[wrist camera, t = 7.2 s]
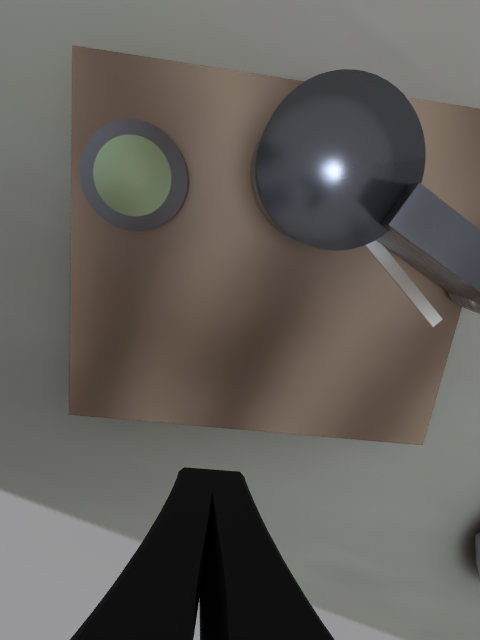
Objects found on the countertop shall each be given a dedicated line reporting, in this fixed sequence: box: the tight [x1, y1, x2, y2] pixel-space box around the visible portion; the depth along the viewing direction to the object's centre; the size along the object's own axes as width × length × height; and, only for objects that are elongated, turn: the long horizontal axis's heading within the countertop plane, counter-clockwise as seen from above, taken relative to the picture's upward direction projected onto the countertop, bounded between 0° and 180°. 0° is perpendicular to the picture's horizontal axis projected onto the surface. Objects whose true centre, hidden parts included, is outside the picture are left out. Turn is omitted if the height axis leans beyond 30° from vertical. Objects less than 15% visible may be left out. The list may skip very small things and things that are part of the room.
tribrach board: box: [69, 46, 480, 445], centre depth 16 cm, size 16×14×2 cm
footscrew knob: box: [251, 70, 480, 314], centre depth 13 cm, size 11×5×4 cm, turn 57°
